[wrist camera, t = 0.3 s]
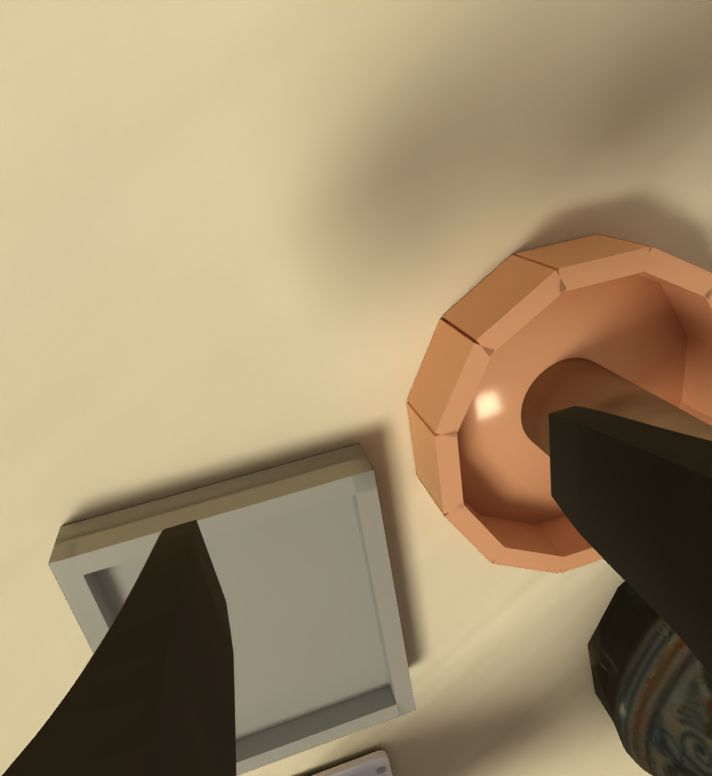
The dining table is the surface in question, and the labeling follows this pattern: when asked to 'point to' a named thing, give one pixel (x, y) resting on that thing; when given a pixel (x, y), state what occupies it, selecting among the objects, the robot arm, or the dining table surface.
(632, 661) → the beer stein
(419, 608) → the dining table surface
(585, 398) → the walnut peg
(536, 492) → the terracotta bowl
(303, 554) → the slate tray
